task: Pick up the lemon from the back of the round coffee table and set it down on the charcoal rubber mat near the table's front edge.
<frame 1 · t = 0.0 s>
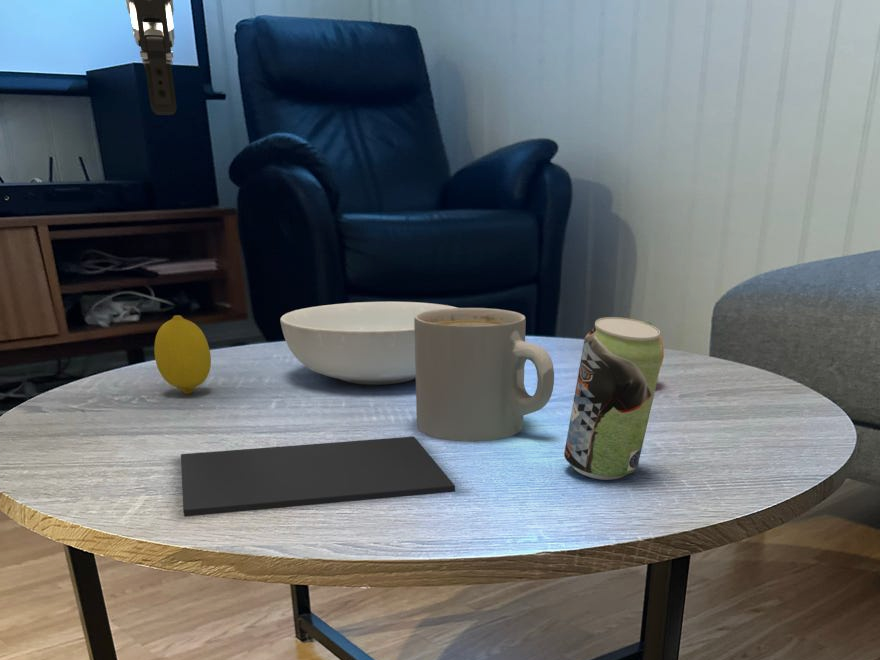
hand: (164, 113, 87), 26 cm above the table, tool pointing down, fingers open, 8 cm apart
lemon: (188, 396, 99), on the table
coffee mug: (482, 433, 87), on the table
serving bowl: (378, 378, 107), on the table
clementine: (631, 388, 103), on the table
mat: (312, 476, 75), on the table
beverage can: (606, 476, 76), on the table
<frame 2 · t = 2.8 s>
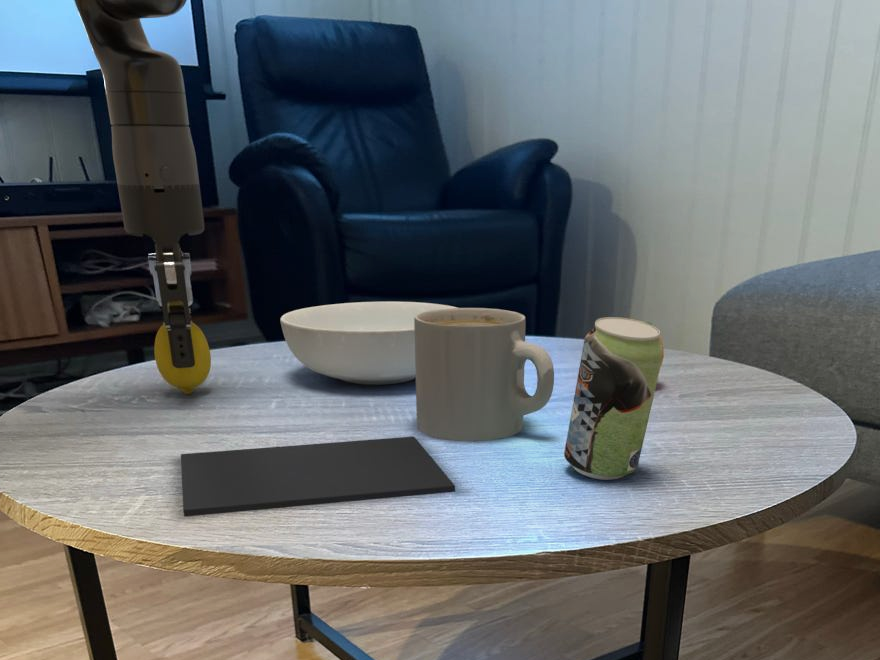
hand: (183, 360, 97), 4 cm above the table, tool pointing down, fingers closed on lemon, 5 cm apart
lemon: (188, 396, 99), on the table, touching gripper
everything else where it was.
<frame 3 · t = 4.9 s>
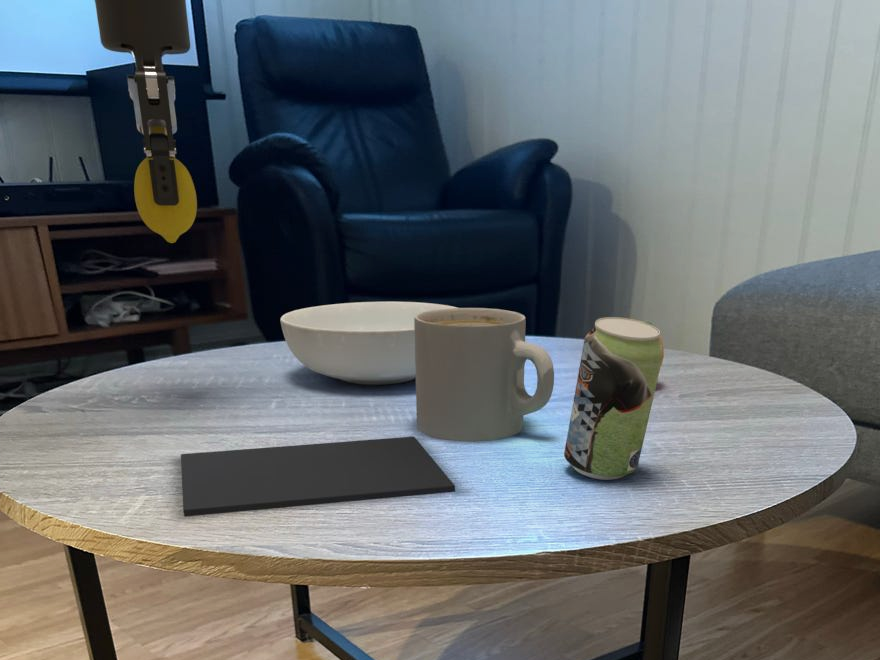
hand: (166, 202, 88), 19 cm above the table, tool pointing down, fingers closed on lemon, 5 cm apart
lemon: (172, 245, 90), point 15 cm above the table, touching gripper
everything else where it was.
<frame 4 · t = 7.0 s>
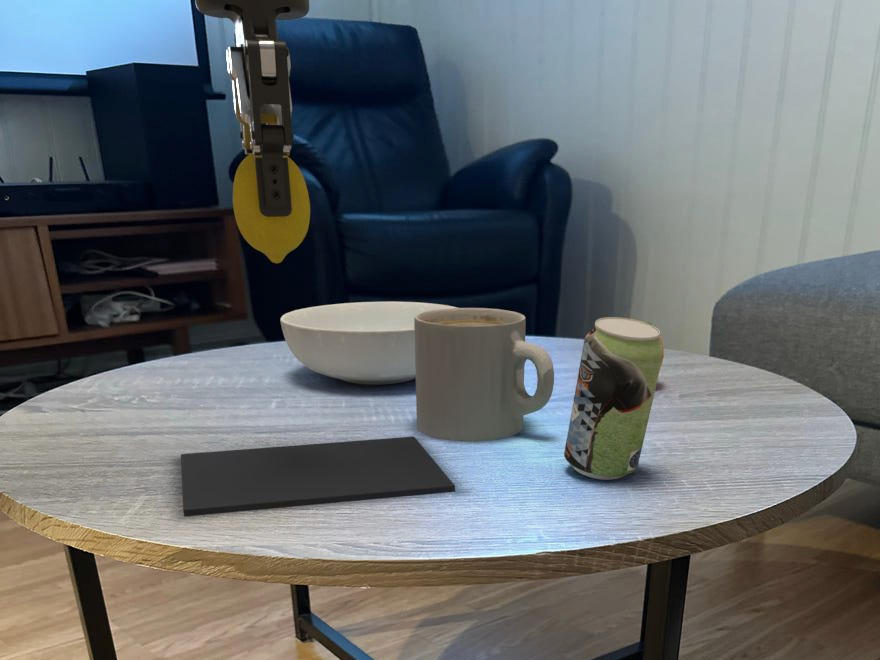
hand: (271, 212, 69), 19 cm above the table, tool pointing down, fingers closed on lemon, 5 cm apart
lemon: (277, 266, 71), point 15 cm above the table, touching gripper
everything else where it was.
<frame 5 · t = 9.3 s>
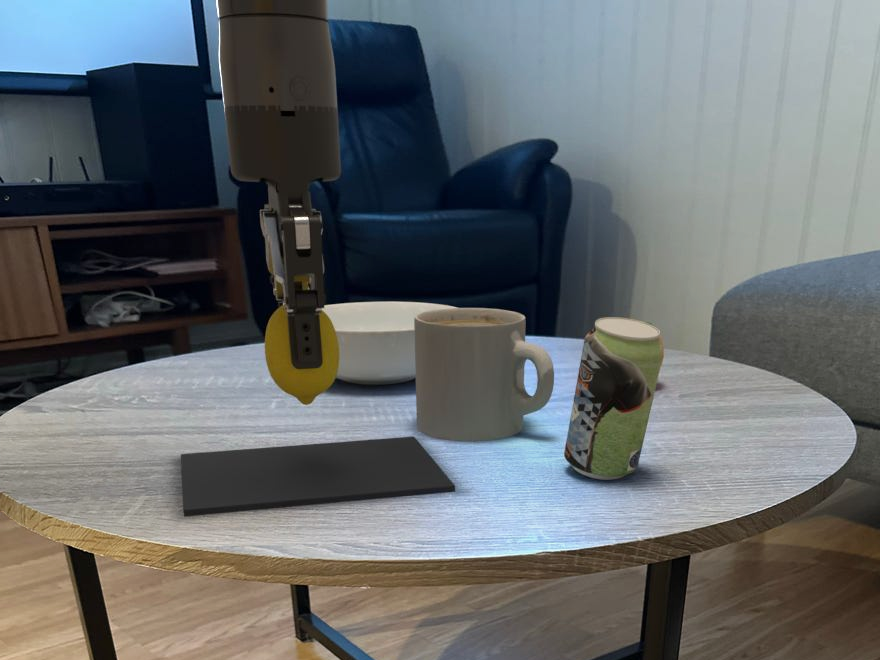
hand: (302, 358, 71), 9 cm above the table, tool pointing down, fingers closed on lemon, 5 cm apart
lemon: (306, 407, 73), point 6 cm above the table, touching gripper
everything else where it was.
when the fingers open (4 cm above the table, at t = 11.1 s): lemon stays where it is, resting on mat.
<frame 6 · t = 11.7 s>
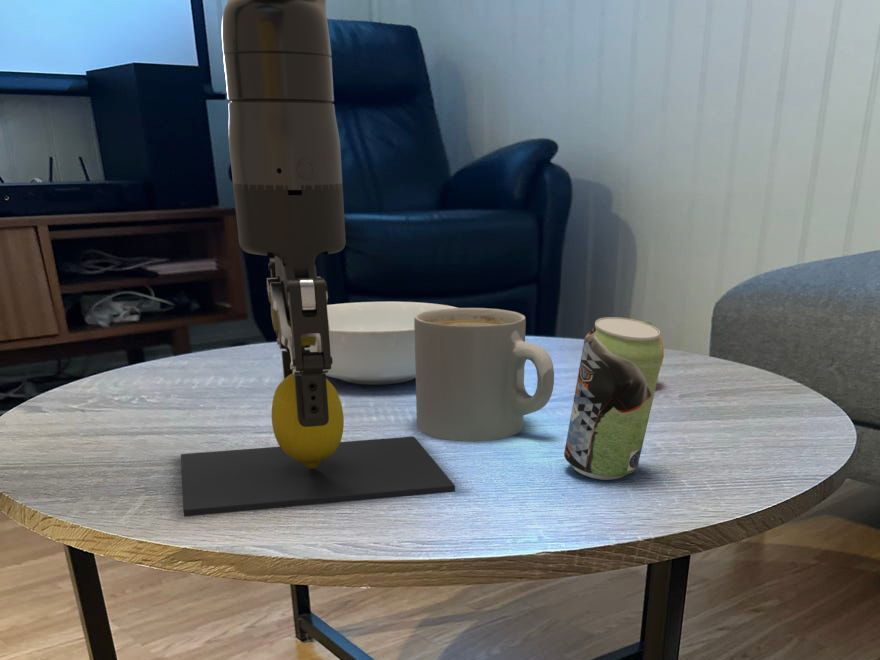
hand: (306, 410, 73), 5 cm above the table, tool pointing down, fingers open, 8 cm apart
lemon: (312, 471, 75), resting on mat
everything else where it was.
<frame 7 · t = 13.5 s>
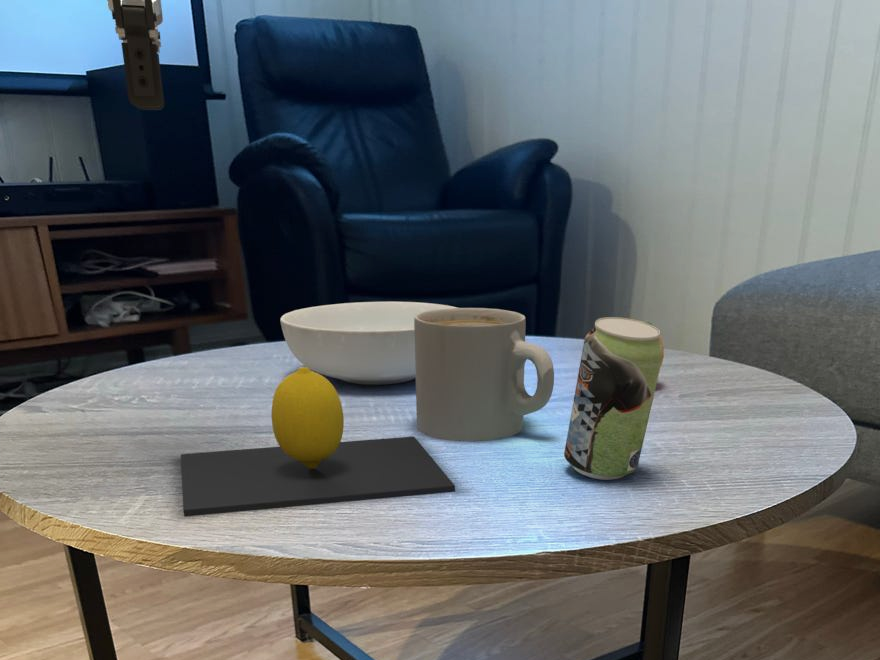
hand: (148, 108, 68), 26 cm above the table, tool pointing down, fingers open, 8 cm apart
nothing on the table moved.
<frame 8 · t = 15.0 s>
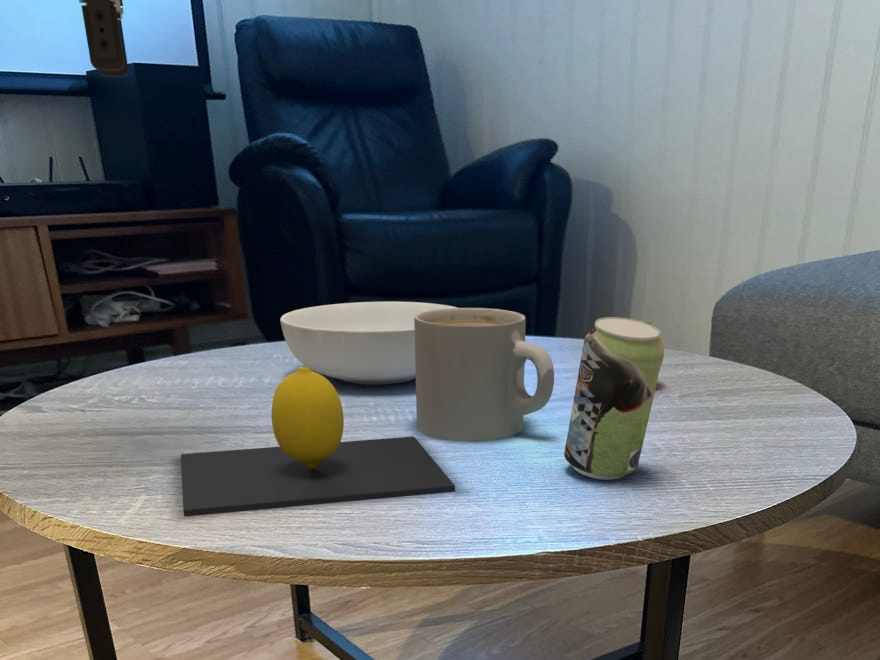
hand: (111, 73, 69), 28 cm above the table, tool pointing down, fingers open, 8 cm apart
nothing on the table moved.
at the end: lemon inside the target area on the mat (0.1 cm from its centre), point 0.4 cm above the mat's base; the gripper is holding nothing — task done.
